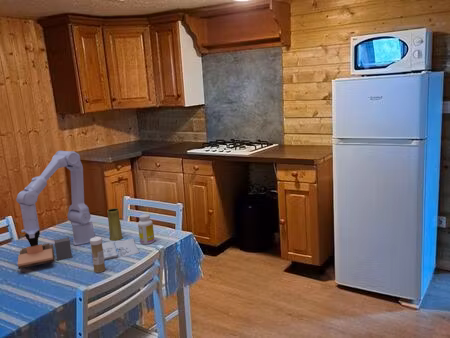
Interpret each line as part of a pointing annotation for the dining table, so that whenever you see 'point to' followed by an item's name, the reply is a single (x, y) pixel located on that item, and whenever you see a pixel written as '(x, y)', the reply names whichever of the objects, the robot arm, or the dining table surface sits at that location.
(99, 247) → the sprinkles bottle
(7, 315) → the dining table surface
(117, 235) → the vase
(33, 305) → the dining table surface
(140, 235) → the supplement bottle
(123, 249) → the open book
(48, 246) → the socket
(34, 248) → the panel
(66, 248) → the plug
